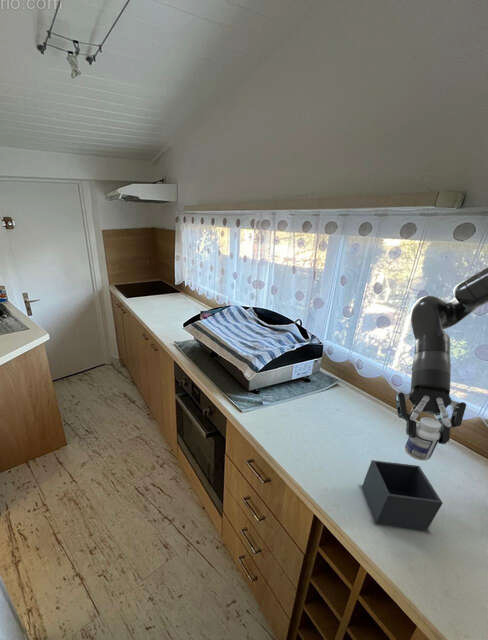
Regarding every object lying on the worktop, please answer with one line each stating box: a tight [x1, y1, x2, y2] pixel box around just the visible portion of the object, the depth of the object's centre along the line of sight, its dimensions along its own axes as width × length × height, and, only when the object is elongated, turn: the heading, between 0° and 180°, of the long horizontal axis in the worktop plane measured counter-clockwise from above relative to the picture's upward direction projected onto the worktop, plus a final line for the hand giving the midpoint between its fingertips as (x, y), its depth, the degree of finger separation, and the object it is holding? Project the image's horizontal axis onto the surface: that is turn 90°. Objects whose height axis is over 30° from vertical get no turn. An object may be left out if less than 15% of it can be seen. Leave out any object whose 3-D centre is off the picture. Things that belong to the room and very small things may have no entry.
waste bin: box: [361, 459, 443, 532], centre depth 76 cm, size 11×11×10 cm
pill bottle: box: [404, 416, 441, 461], centre depth 73 cm, size 5×5×10 cm
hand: (427, 440), depth 71 cm, fingers closed on pill bottle, 5 cm apart
